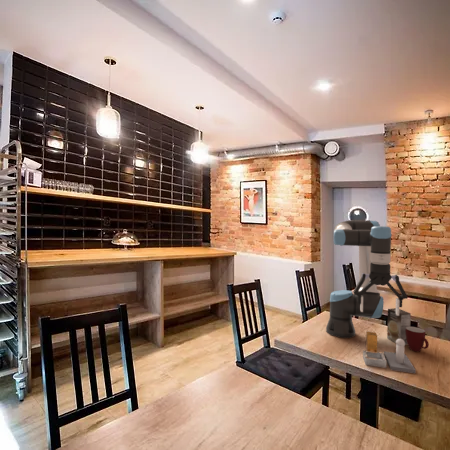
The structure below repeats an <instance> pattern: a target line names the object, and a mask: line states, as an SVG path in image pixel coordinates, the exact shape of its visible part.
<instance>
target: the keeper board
mask: <svg viewBox="0 0 450 450" xmlns="http://www.w3.org/2000/svg"><path fill="white" fill-rule="evenodd" d="M395 344H396V345H395V348H396V349H395V352H392V351H391V352H390V351H383V355H384V357H385V359H386V364H387V365H388V367H389V369H390V370H391V371H397V372H404V373H411V374H416V368H415V367H414V365H413V363H412V362H411V360H410V359H409V357H408V356H407V354H405V346H406V345H405V342H404V340H402V339H397V340H396V343H395Z"/></svg>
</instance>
